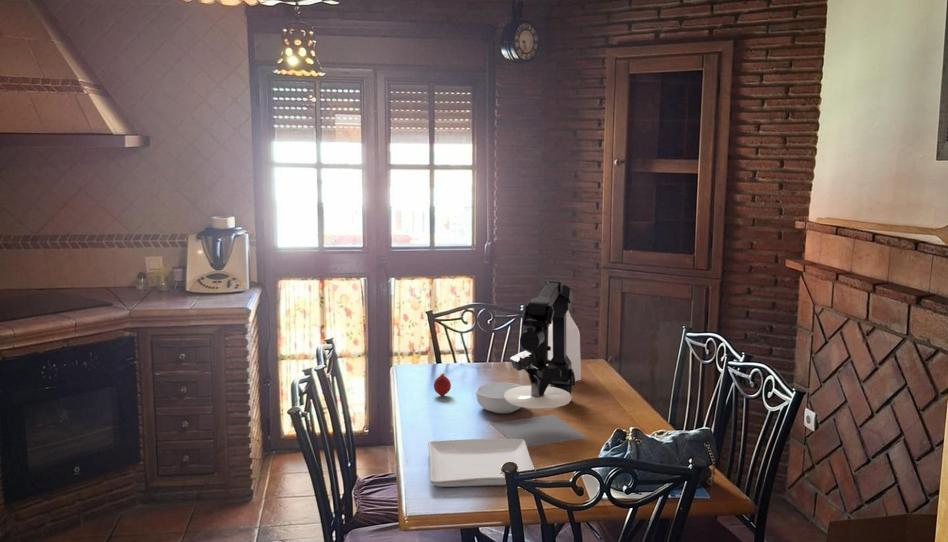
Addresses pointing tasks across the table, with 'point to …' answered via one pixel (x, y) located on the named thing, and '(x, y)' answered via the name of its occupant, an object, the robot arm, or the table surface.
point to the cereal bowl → (496, 397)
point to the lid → (537, 397)
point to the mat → (538, 430)
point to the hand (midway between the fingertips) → (537, 393)
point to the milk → (569, 345)
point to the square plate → (475, 461)
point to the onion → (442, 385)
